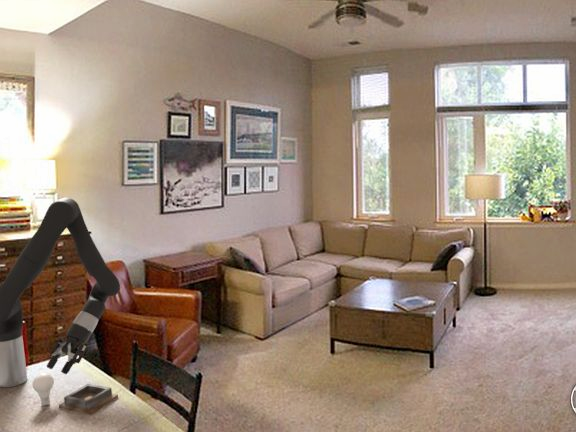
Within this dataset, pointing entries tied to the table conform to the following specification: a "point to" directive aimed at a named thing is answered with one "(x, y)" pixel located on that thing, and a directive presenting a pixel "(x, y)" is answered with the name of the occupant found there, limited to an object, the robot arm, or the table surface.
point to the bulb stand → (88, 399)
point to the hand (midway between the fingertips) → (56, 370)
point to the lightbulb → (43, 387)
